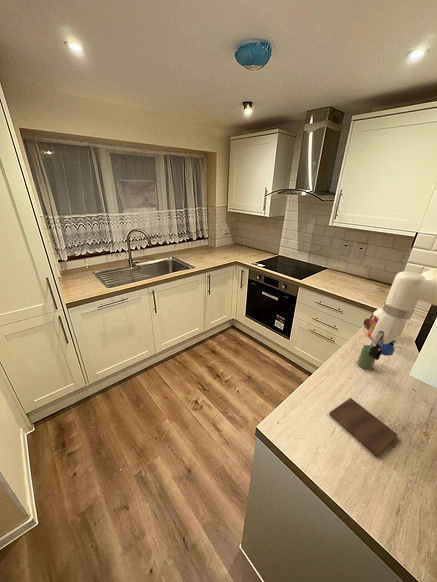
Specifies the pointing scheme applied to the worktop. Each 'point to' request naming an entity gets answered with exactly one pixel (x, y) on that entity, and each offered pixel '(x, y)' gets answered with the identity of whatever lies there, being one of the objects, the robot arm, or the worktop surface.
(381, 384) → the worktop surface
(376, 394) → the worktop surface
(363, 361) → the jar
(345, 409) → the board
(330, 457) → the worktop surface
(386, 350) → the lid
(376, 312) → the smoothie
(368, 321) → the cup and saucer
